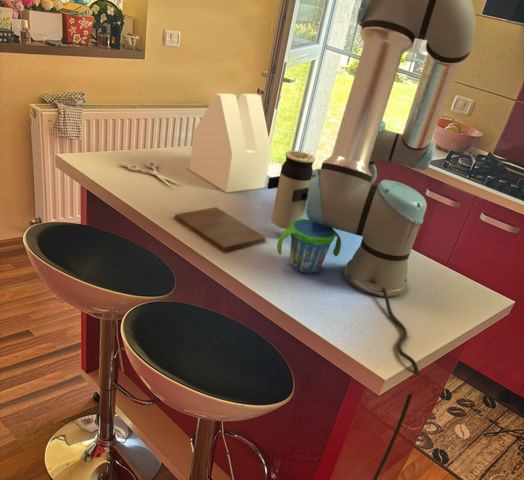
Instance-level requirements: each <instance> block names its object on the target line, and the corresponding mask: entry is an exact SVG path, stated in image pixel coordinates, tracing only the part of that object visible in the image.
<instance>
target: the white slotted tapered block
mask: <svg viewBox="0 0 524 480" xmlns="http://www.w3.org/2000/svg"><path fill="white" fill-rule="evenodd" d="M203 113H204V114H203V115H202V116H201V118H200V119H199V122H198V124H197V125H196V127H195V129H194V131H193V133H192V143H191V153H190V161H189V170H190V171H191V172H193V173H194V174H196V175H197V176H199V177H201V178H202V179H204V180H206V182H209V183H211V184H212V185H214V186H215V187H217V188H219V190H222V191H223V192H225V193H234V192H243V191H250V190H256V189H263V188H266V180H267V175H268V172H269V171H268V170H269V165H270V159H271V154H272V148H271V143H270V138H269V132H268V126H267V121H266V117H265V111H264V106H263V101H262V96H261V95H260V94H258V93H241V94H240V96H239V97H238V98H237V95H236V94H233V93H215V95H214V96H213V98H212V99H211V101H210V103H209V105H208V107H207V108H206V110H205V112H203Z"/></svg>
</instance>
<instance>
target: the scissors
mask: <svg viewBox="0 0 524 480" xmlns="http://www.w3.org/2000/svg"><path fill="white" fill-rule="evenodd" d="M120 166H121V167H123V168H127V169H128V170H129V171H133V172H141V173H145V174H149V175H152V176H155V177H157V178H158V179H160V180H161V181H162V182H163V183H165V184H166V185H168V186H169V187H171V184H170V183H169V182H168V181H170V182H173V183H176V184H179V185H180V182H177V181H175V180H173V179H171V178H169V177H167V176H164V175H162V174H161V173H160V172H158V171H157V163H155V162H152V161H151V162H150V161H149V162H148V161H147V162H146V167H147V168H148V169H151V170H148V169H144V168H143V169H142V168H140V166H139V165H135V164H125V163H121V164H120ZM166 180H167V181H166Z"/></svg>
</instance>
